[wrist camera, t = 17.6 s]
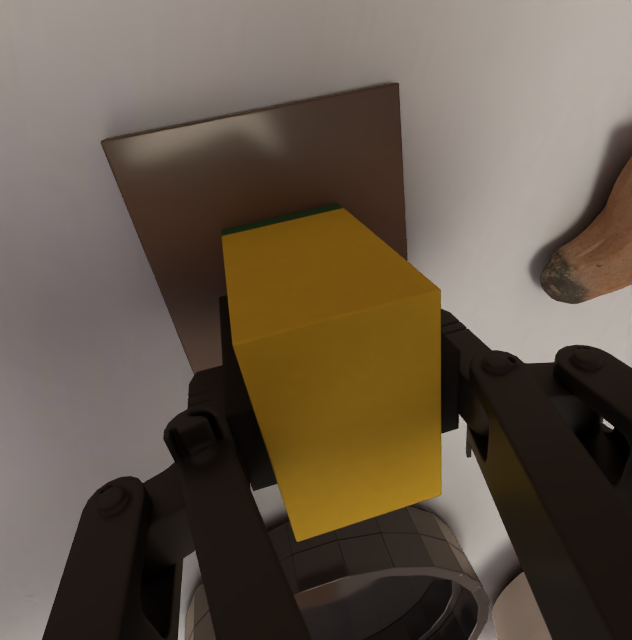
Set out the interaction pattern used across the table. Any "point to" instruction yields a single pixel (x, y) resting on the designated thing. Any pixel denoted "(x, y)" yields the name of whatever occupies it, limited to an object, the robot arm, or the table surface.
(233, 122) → the brown flat slab
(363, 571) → the pan
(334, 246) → the sponge
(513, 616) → the bowl
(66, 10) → the table surface
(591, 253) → the oil lamp
